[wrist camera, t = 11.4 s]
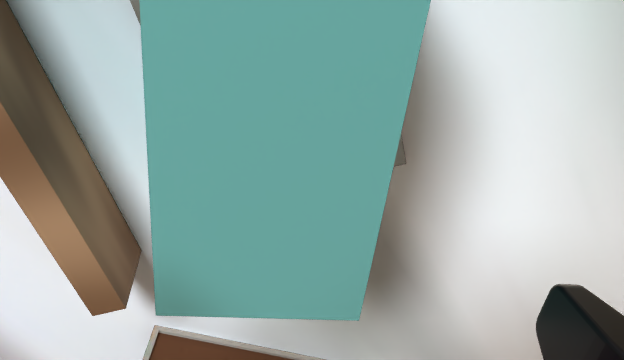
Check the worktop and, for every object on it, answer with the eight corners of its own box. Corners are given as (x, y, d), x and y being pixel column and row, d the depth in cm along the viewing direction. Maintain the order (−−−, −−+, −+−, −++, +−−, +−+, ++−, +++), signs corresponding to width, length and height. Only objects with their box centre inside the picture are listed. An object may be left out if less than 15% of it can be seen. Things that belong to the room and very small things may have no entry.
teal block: (187, 162, 20) (155, 315, 14) (185, -135, 15) (135, -90, 9) (331, 170, 20) (358, 320, 14) (375, -112, 15) (443, -58, 10)
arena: (-152, -194, 14) (-244, -193, 11) (339, -344, 13) (358, -378, 10) (111, 257, 22) (92, 315, 20) (422, 184, 21) (443, 236, 19)
